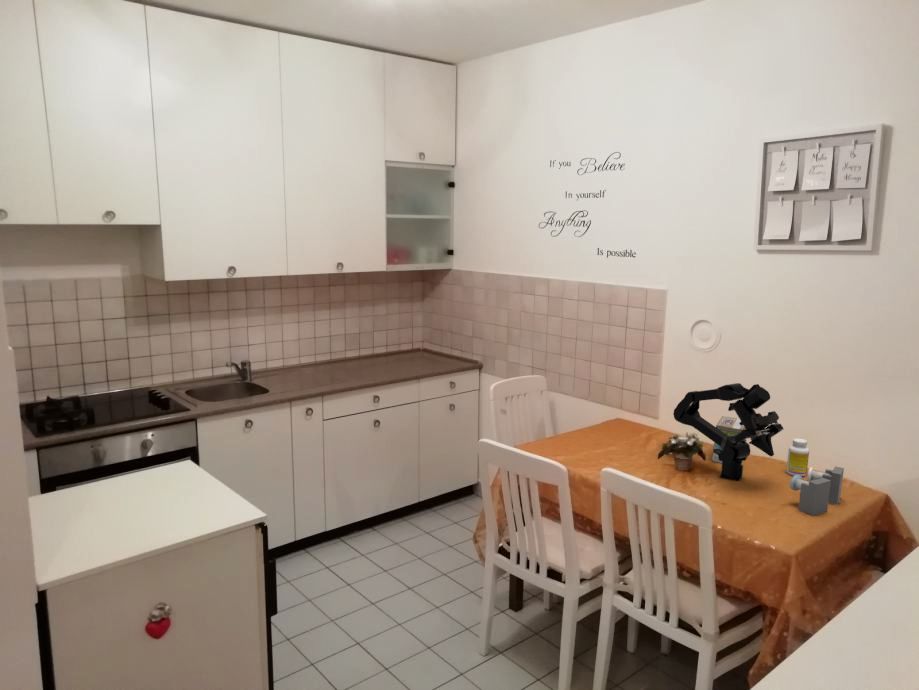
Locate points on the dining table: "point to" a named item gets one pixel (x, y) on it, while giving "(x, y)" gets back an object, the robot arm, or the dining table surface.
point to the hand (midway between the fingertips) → (772, 455)
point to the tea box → (726, 432)
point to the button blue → (796, 482)
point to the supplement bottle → (798, 458)
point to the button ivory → (814, 474)
